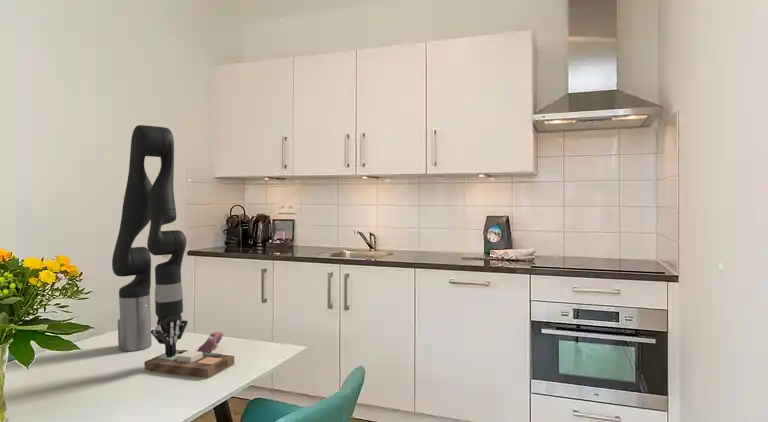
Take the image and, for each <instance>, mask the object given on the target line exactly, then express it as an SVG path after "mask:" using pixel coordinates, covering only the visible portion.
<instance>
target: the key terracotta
mask: <svg viewBox="0 0 768 422" xmlns="http://www.w3.org/2000/svg"><path fill="white" fill-rule="evenodd" d="M221 360H223V359H222V358H213V357H207V358H205V359H203V360H201V361H199V362H197V364H206V365H213V364H215V363H217V362H219V361H221Z"/></svg>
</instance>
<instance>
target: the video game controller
mask: <svg viewBox="0 0 768 422" xmlns="http://www.w3.org/2000/svg"><path fill="white" fill-rule="evenodd" d="M223 336H224V333H222V332H220V331H219V332H218V331H214V332H212V333H210V335H209V337H208V338H207V340H206V341H204V343H202V345H201V346H199V347H198V349H197V351H199V352H208V353H213V351H214V350H215V349H217V348H218V346H219V343H220V342H221V340H222V339H223Z"/></svg>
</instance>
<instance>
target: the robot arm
mask: <svg viewBox="0 0 768 422" xmlns="http://www.w3.org/2000/svg"><path fill="white" fill-rule="evenodd" d="M129 151H130V152H129V153H130V154H129V165H128V175H127V182H126V187H125V191H124V192H125V193H124V195H123V203H122V210H121V219H120V225H119V230H118V236H117V237H116V241H115V246H114V250H113V254H112V260H111V261H112V262H111V269H112V272H113V274H114V276H116V277H124V278H125V277H132V276H134V278H133V280H132V281H130V282H129V283H127V284H125V285H123V286H122V287H120V288H119V290H118V300H119V301H118V302H119V319H117V337H118V338H117V339H118V340H117V342H118V349H121V351H124V352H134V351H140V350H145V349H148V348H150V347H151V346H152V336H153V337H154V339H155V340H156V341H157V342H158V344H159V345H164V350H165V351H164V353H165V354H166V356H167V357H173V356H175V355H176V350H177V343H178V340H181V339H182V337H183V336H184V333H185V330H186V328H187V325H188V323H189V322H188V320H186V319H185V320H184V319H183V317H182V314H183V312H184V302H183V301H184V300H183V299H184V298H183V286H182V271H181V270H182V263H183V258H184V254H185V251H186V248H187V237H186V234H185V233H184V232H183V231H181V230H180V229H176V230H175V229H174V230H162V226H164V225H165V226H166V225H168V224H172V223H174V222H175V221H176V220H177V210H176V200H175V195H174V191H175V189H174V175H175V174H174V173H175V172H174V171H175V139H174V134H173V132H172V131H171V129H170V128H169V127H163V126H156V125H155V126H154V125H145V124H140V125H139V124H138V125H136V126H135V127H134V128H133V131H132V134H131V141H130V150H129ZM146 157H151V158H152V157H156V158H160V168H159V169H160V170H159V173H158V174H157V176H156V178H155V181H154V182H153V184H152V182H151V181H150V178H149V176H148V175H147V172H146V169H145V168H146V167H145V159H146ZM149 224H150V225H149ZM147 225H149V232H148V237H147V243H146V244H147V247H146V246H134V247H133V243H134V241H135V240H136V238H137V237H138V235H139V234H140V233H141V232H142V231H143V230H144V229H145V228H146V227H147ZM166 255H171V256H170V258H169V259H168V260H166V261H164V262H161V263H158V264H156V265H155V267H154V277H155V286H154V287H155V288H154V304H155V305H154V307H155V308H154V309H155V310H154V311H155V312H154V313H155V315H156V316H157V321H156V326H155V328H154V329H152V315H151V312H152V311H151V285H152V281H151V279H152V256H166Z"/></svg>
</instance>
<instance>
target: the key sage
mask: <svg viewBox="0 0 768 422" xmlns="http://www.w3.org/2000/svg"><path fill="white" fill-rule="evenodd" d="M177 355H179V354H176V355H175V356H173V357H167V356H166V355H163V356H161V357H159V358H158V359H163V360H174V359H176V358H177Z"/></svg>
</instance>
